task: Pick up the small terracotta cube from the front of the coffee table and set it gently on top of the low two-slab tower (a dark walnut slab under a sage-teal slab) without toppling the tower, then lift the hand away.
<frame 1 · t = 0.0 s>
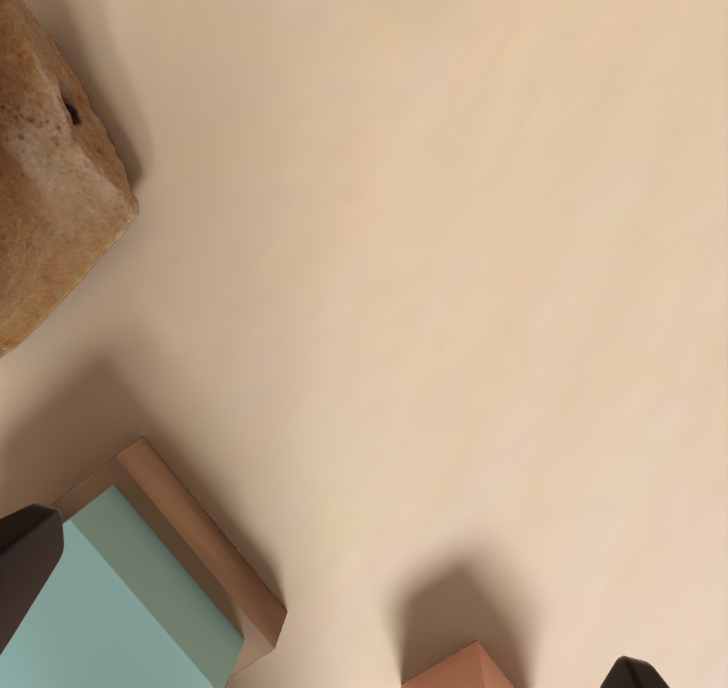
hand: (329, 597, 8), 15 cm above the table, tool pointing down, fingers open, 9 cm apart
tower top: (107, 614, 24), point 2 cm above the table, touching tower base
tower base: (139, 576, 27), on the table, touching tower top
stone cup: (21, 235, 24), on the table
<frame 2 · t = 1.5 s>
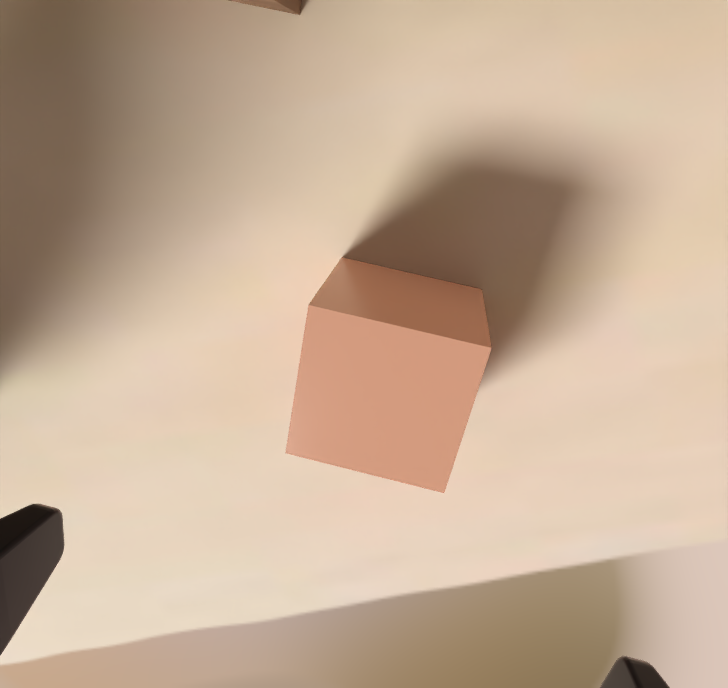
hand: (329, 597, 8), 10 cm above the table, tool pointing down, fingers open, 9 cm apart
terracotta cube: (396, 336, 18), on the table
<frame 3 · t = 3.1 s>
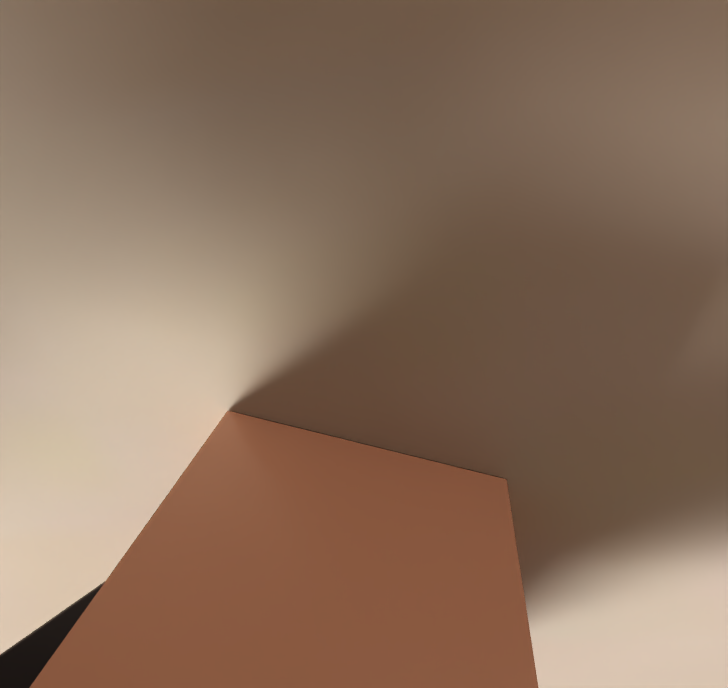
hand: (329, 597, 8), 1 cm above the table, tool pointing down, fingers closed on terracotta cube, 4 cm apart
terracotta cube: (340, 548, 9), on the table, touching gripper
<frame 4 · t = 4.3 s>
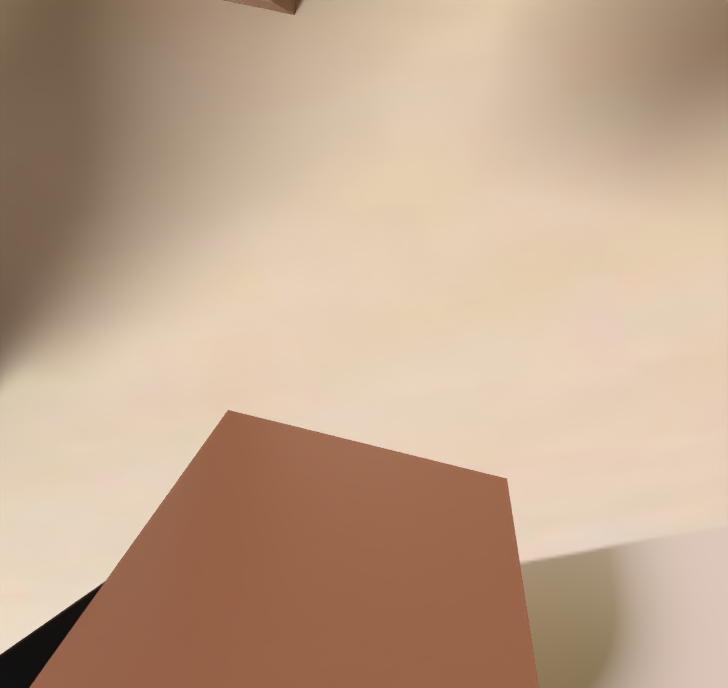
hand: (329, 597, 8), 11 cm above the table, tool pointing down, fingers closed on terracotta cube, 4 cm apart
terracotta cube: (341, 547, 9), point 10 cm above the table, touching gripper
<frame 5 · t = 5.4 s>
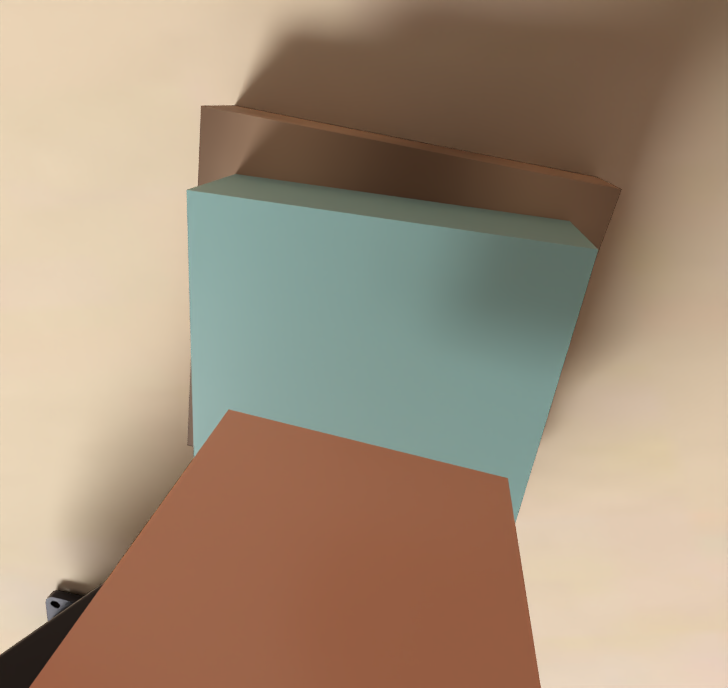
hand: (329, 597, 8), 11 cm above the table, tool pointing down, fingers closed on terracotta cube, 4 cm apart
terracotta cube: (341, 546, 9), point 10 cm above the table, touching gripper
tower top: (377, 348, 16), point 2 cm above the table, touching tower base
tower base: (380, 304, 19), on the table, touching tower top
when the fingers open (8 cm above the table, at t = 6.5 s): terracotta cube drops 2 cm, resting on tower top.
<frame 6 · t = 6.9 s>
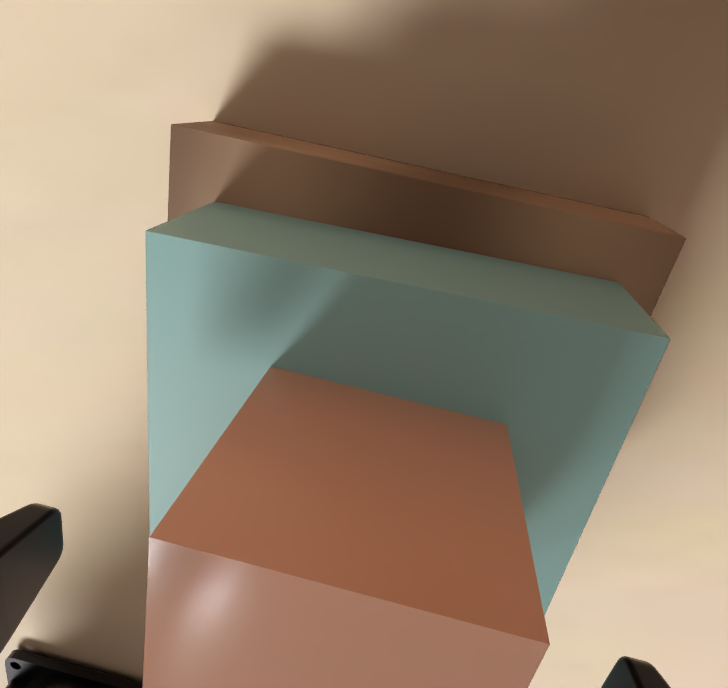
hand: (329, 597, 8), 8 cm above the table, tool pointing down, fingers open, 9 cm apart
terracotta cube: (363, 490, 11), point 5 cm above the table, touching tower top
tower top: (376, 412, 14), point 2 cm above the table, touching terracotta cube, tower base
tower base: (383, 351, 16), on the table, touching tower top
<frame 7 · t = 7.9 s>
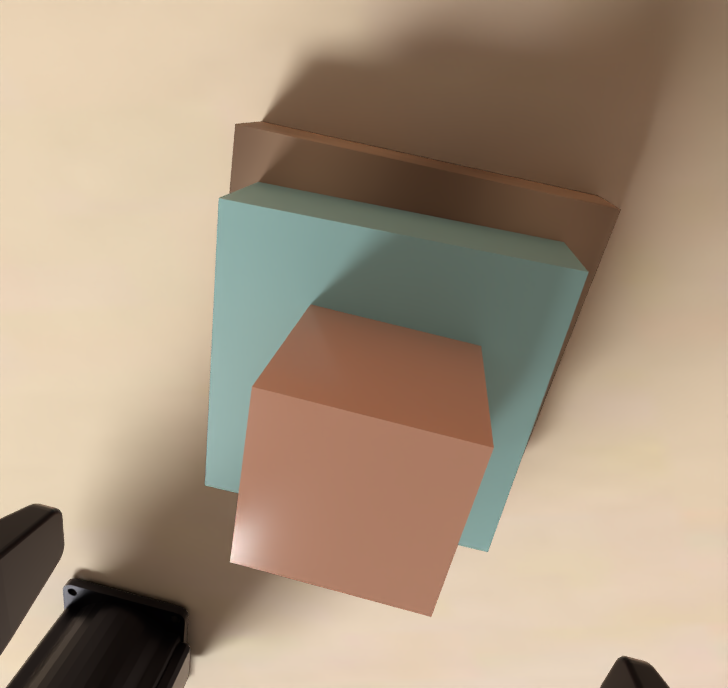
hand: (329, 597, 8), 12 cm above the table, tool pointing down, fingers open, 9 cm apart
terracotta cube: (377, 398, 15), point 5 cm above the table
tower top: (380, 349, 17), point 2 cm above the table, touching tower base
tower base: (392, 308, 20), on the table, touching tower top
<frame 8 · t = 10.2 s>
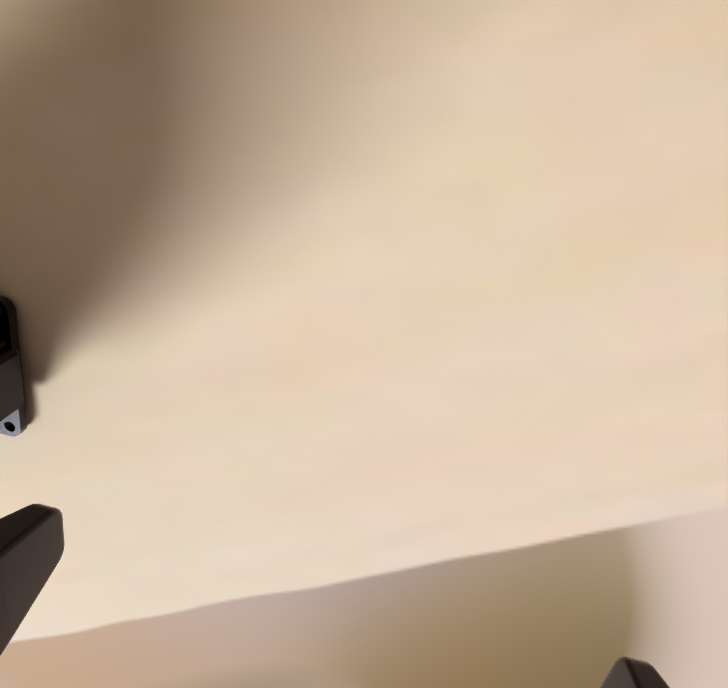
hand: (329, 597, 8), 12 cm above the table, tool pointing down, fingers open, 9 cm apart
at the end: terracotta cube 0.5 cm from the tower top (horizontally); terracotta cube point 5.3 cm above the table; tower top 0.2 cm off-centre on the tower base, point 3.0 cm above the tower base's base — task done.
